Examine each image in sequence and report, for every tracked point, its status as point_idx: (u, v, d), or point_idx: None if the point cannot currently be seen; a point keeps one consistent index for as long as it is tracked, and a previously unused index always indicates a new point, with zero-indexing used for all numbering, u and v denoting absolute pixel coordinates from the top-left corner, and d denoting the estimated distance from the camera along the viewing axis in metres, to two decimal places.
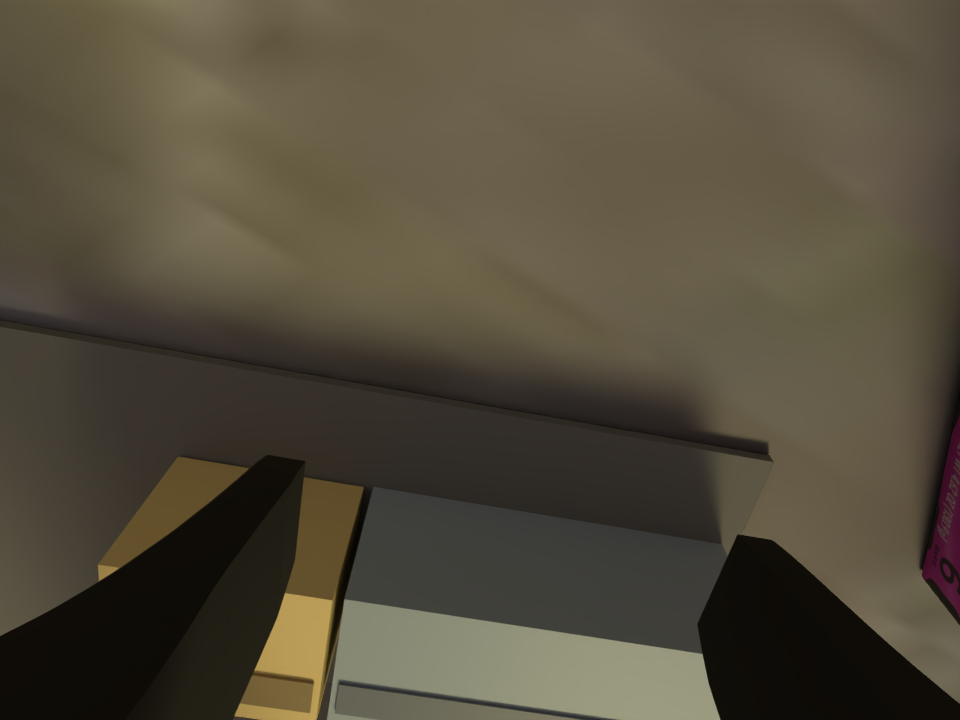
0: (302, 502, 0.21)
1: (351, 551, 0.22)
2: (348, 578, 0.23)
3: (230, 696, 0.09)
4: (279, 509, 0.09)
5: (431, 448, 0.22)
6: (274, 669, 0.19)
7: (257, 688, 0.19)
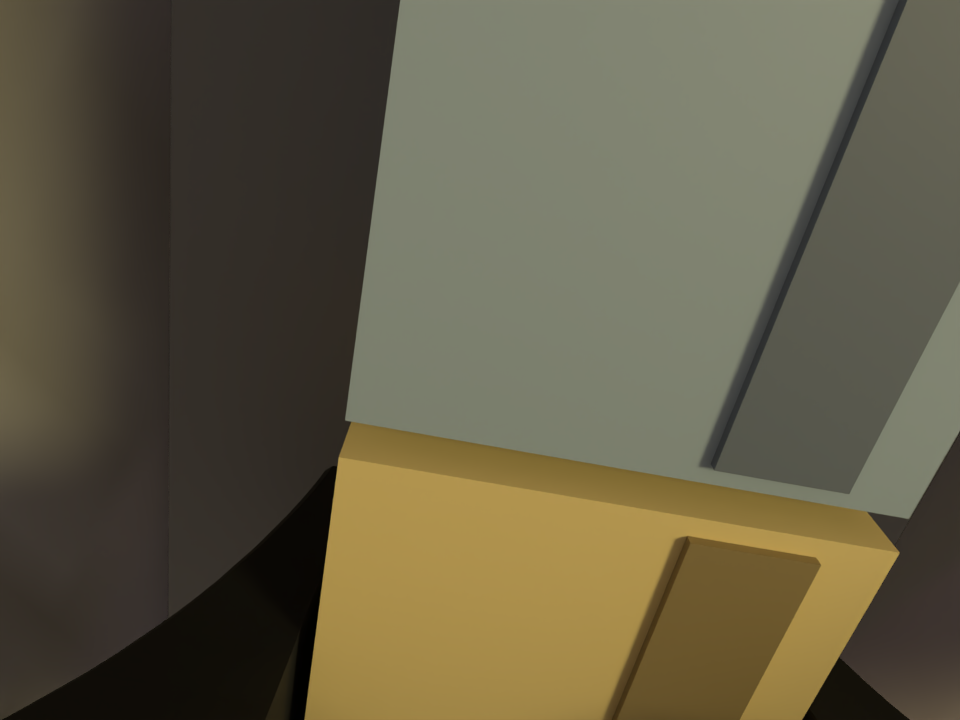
0: None
1: None
2: None
3: None
4: None
5: (293, 111, 0.09)
6: (623, 623, 0.06)
7: (697, 670, 0.07)
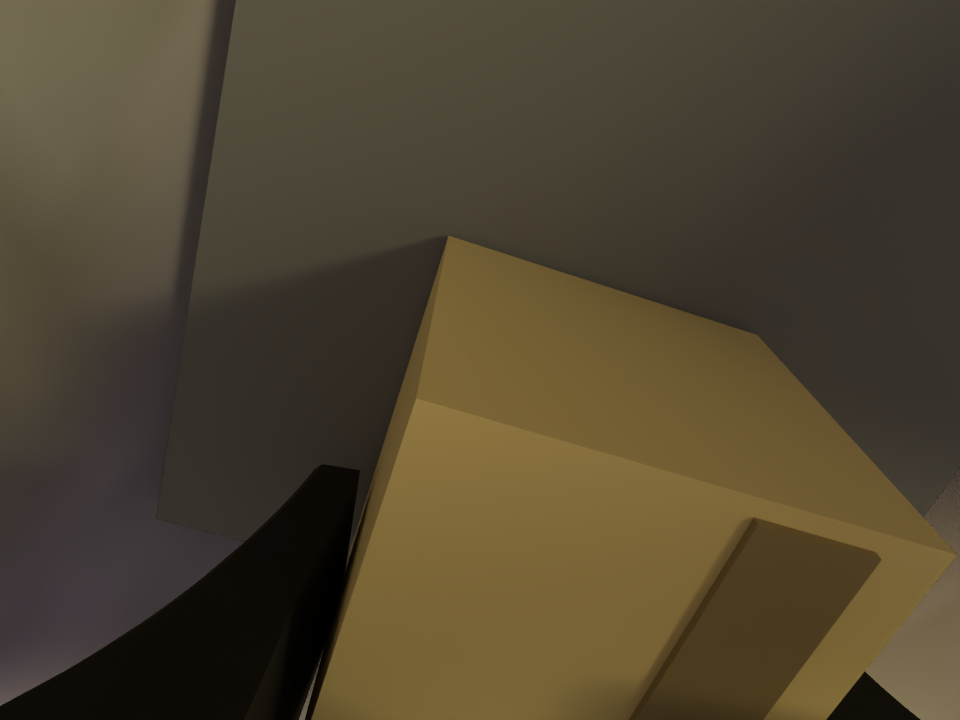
0: (407, 372, 0.10)
1: (566, 297, 0.09)
2: (664, 320, 0.10)
3: (296, 705, 0.09)
4: (342, 519, 0.09)
5: None
6: (673, 602, 0.06)
7: (735, 656, 0.07)
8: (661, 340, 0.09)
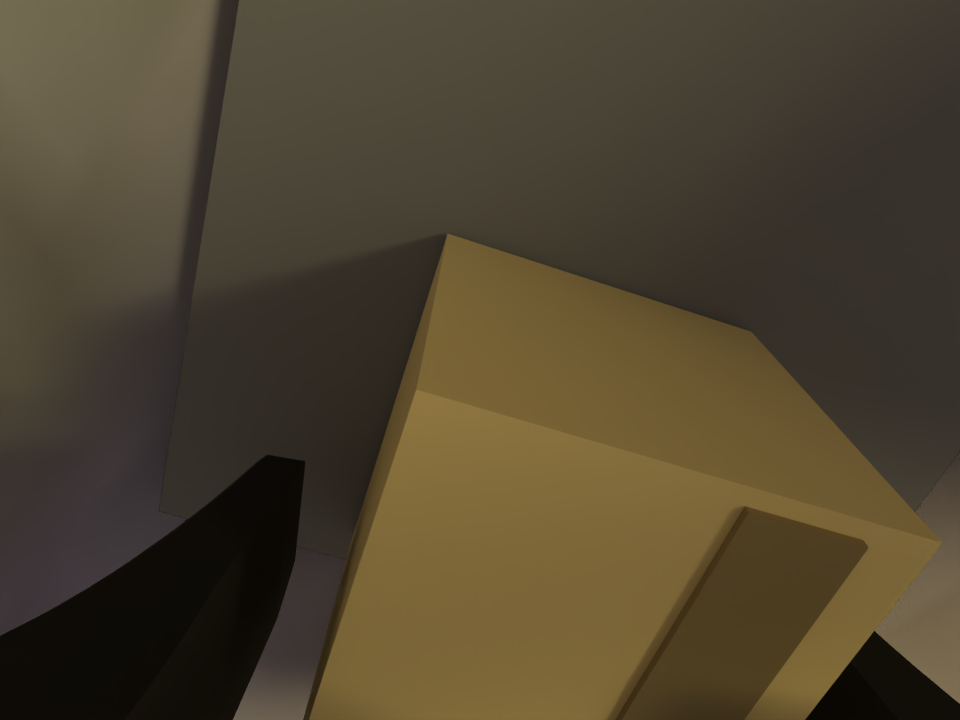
0: (407, 368, 0.10)
1: (563, 294, 0.09)
2: (659, 316, 0.10)
3: (230, 696, 0.09)
4: (279, 509, 0.09)
5: None
6: (666, 589, 0.07)
7: (728, 643, 0.07)
8: (656, 336, 0.09)
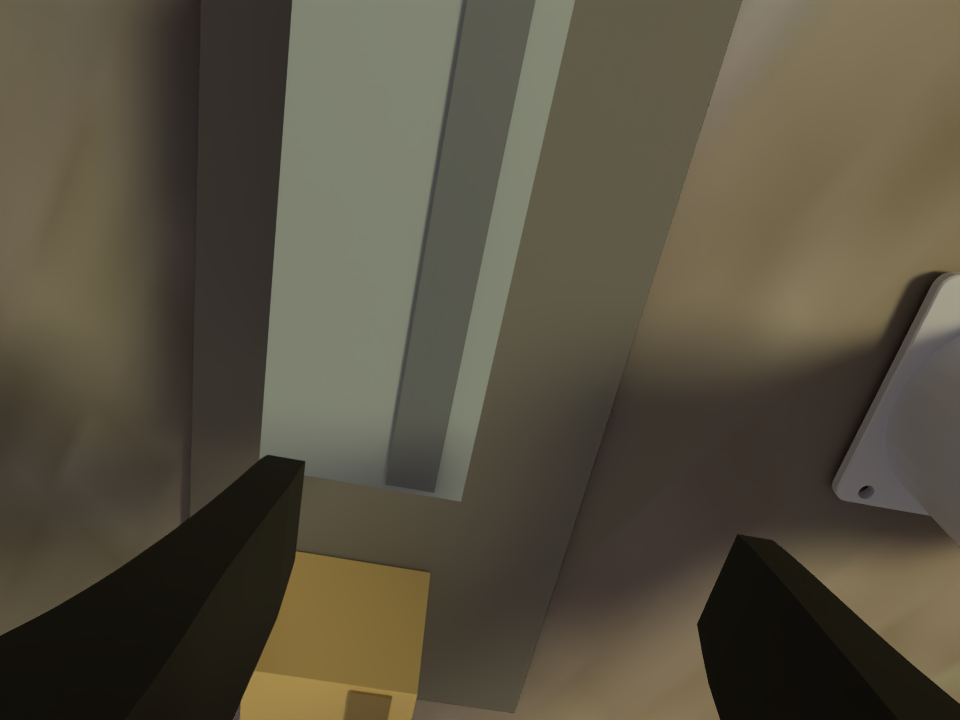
0: None
1: (331, 581, 0.23)
2: (378, 580, 0.24)
3: (230, 696, 0.09)
4: (279, 509, 0.09)
5: (250, 316, 0.20)
6: (338, 714, 0.20)
7: None
8: (365, 599, 0.23)
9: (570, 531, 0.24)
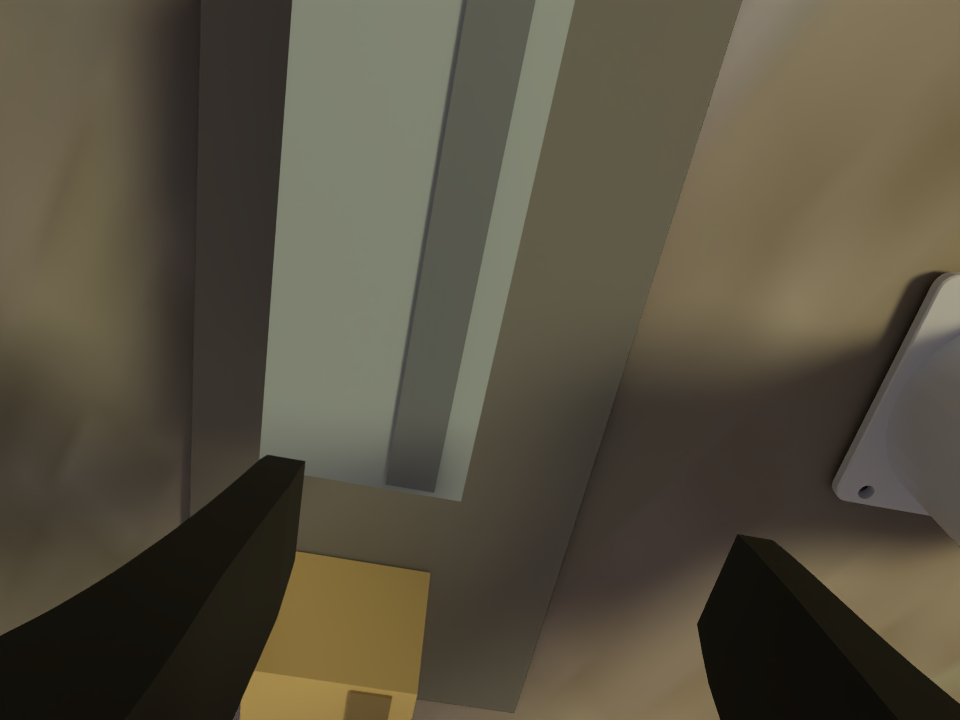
0: None
1: (331, 581, 0.23)
2: (378, 580, 0.24)
3: (230, 696, 0.09)
4: (279, 509, 0.09)
5: (250, 316, 0.20)
6: (338, 714, 0.20)
7: None
8: (365, 599, 0.23)
9: (570, 531, 0.24)
